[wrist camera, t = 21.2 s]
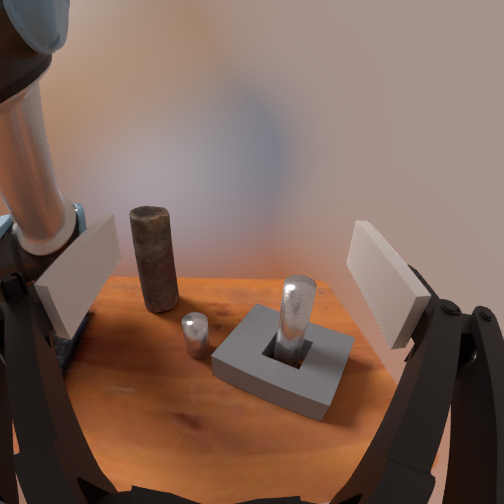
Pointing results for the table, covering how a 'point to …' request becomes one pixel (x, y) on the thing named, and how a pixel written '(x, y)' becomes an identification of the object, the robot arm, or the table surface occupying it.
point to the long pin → (294, 318)
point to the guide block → (279, 374)
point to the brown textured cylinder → (154, 257)
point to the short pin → (196, 335)
